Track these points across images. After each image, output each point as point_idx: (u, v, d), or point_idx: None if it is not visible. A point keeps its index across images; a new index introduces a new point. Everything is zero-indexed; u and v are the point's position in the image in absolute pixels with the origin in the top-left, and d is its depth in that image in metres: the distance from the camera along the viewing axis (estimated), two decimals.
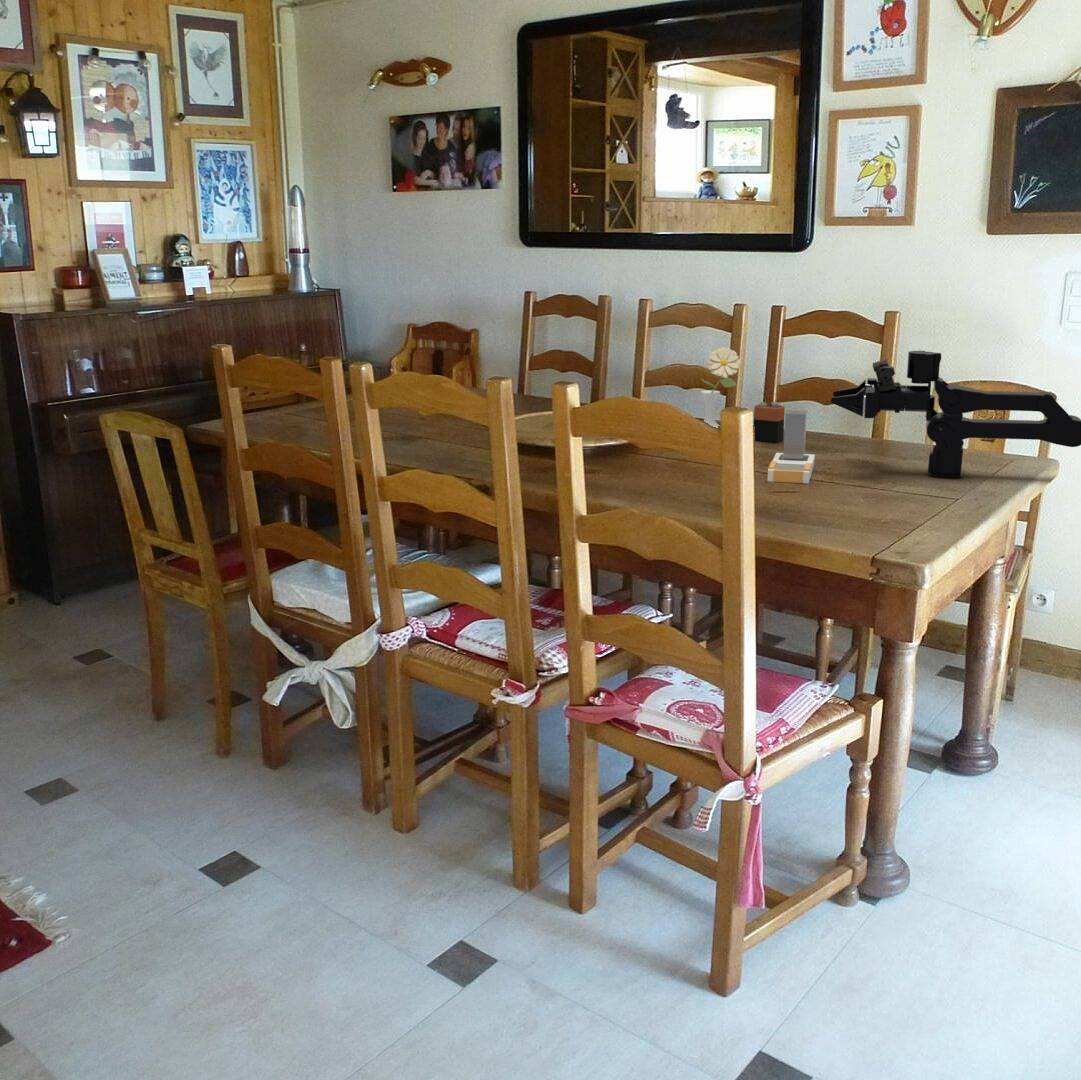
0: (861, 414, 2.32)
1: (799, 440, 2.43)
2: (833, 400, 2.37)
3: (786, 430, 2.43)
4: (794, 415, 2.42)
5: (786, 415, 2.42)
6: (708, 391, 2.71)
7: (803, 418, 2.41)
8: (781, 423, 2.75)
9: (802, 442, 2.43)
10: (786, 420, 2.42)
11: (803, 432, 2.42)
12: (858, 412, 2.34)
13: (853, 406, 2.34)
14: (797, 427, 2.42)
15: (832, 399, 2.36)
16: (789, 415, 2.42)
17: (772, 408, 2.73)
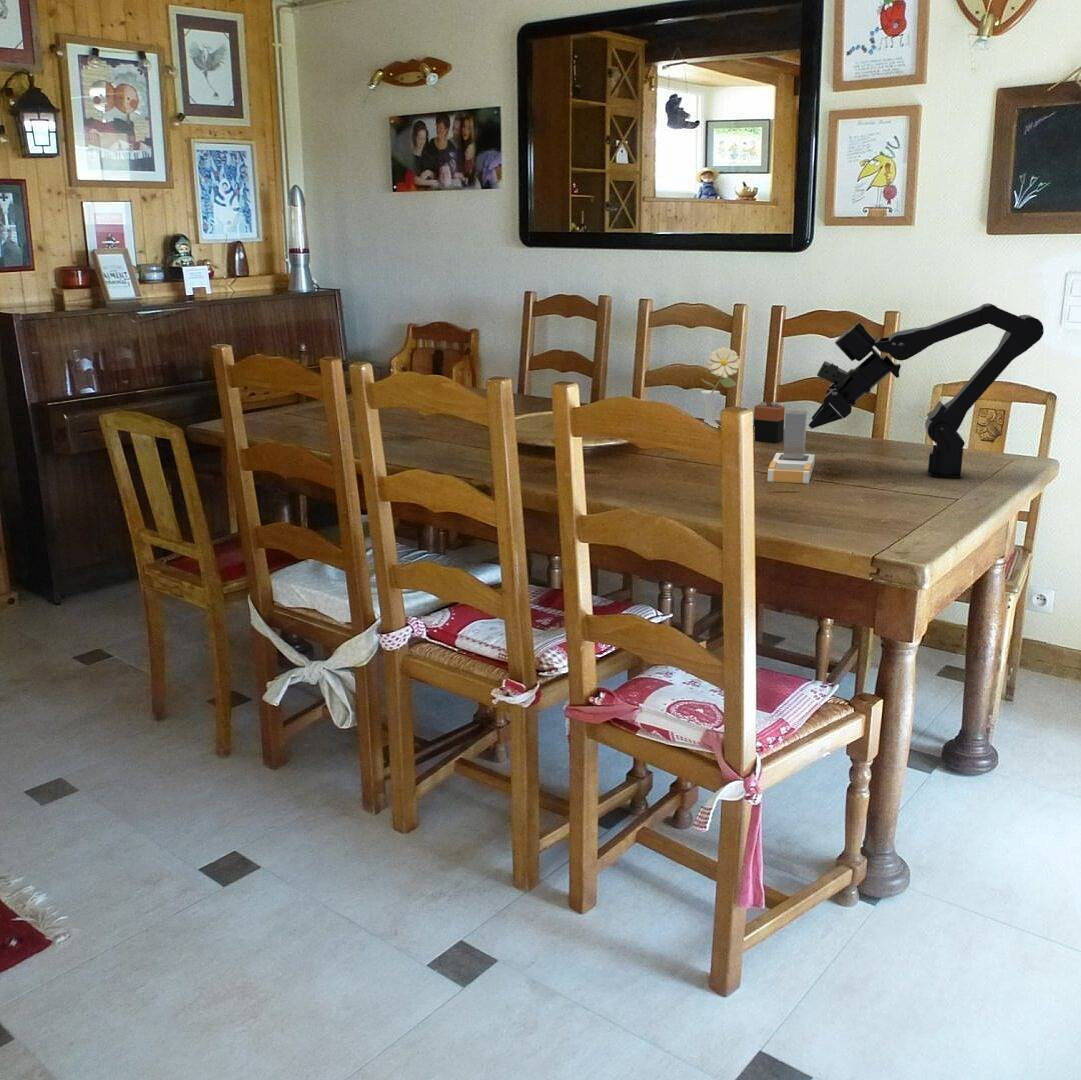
0: (840, 417, 2.33)
1: (799, 440, 2.43)
2: (811, 425, 2.39)
3: (786, 430, 2.43)
4: (794, 415, 2.42)
5: (786, 415, 2.42)
6: (708, 391, 2.71)
7: (803, 418, 2.41)
8: (781, 423, 2.75)
9: (802, 442, 2.43)
10: (786, 420, 2.42)
11: (803, 432, 2.42)
12: (837, 418, 2.35)
13: (829, 417, 2.36)
14: (798, 427, 2.42)
15: (810, 425, 2.38)
16: (789, 415, 2.42)
17: (772, 408, 2.73)
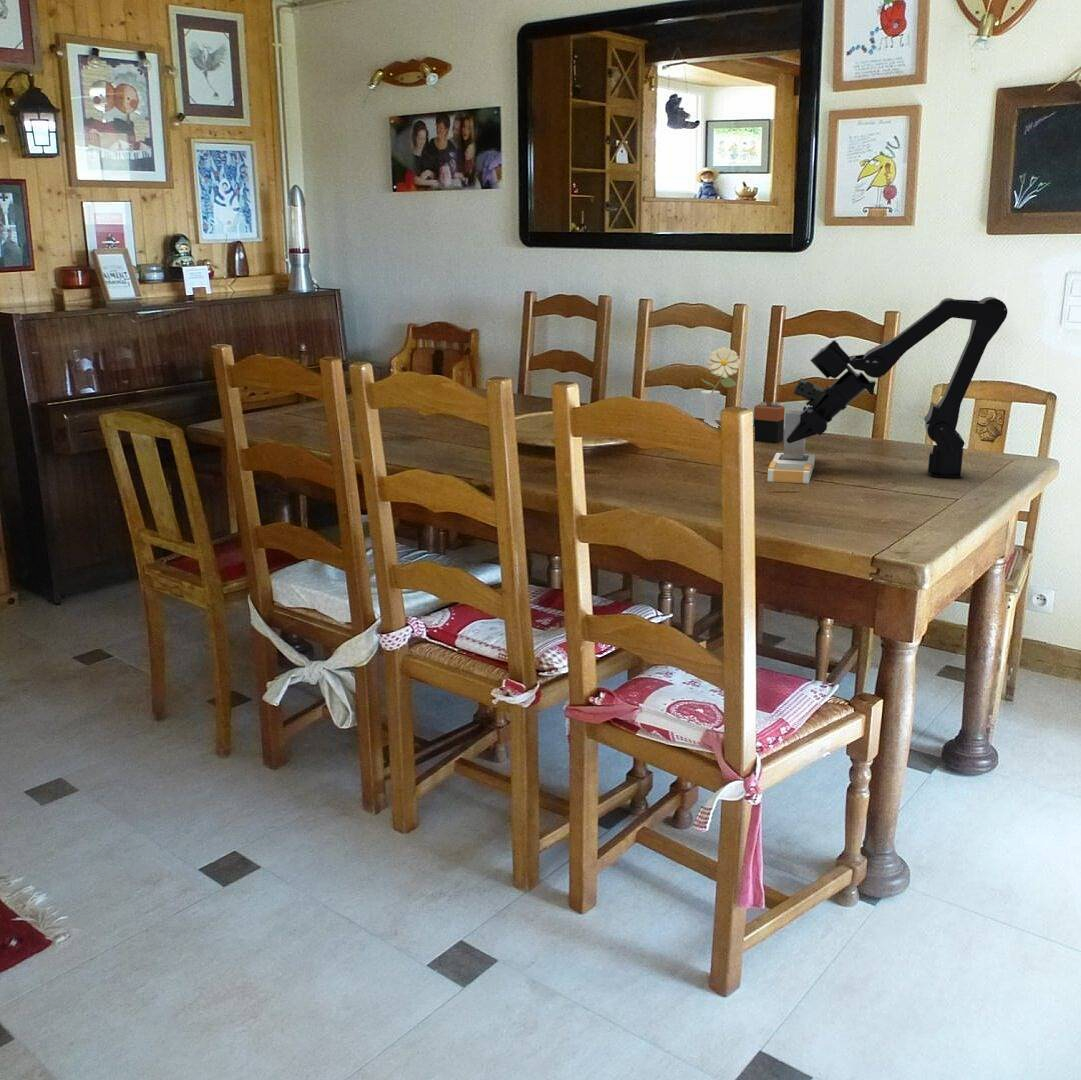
0: (816, 432, 2.38)
1: (799, 440, 2.43)
2: (789, 440, 2.43)
3: (786, 430, 2.43)
4: (794, 415, 2.42)
5: (786, 415, 2.42)
6: (708, 391, 2.71)
7: None
8: (781, 423, 2.75)
9: (802, 442, 2.43)
10: (786, 420, 2.42)
11: None
12: (814, 433, 2.39)
13: (806, 432, 2.40)
14: None
15: (787, 440, 2.43)
16: (789, 415, 2.42)
17: (772, 408, 2.73)
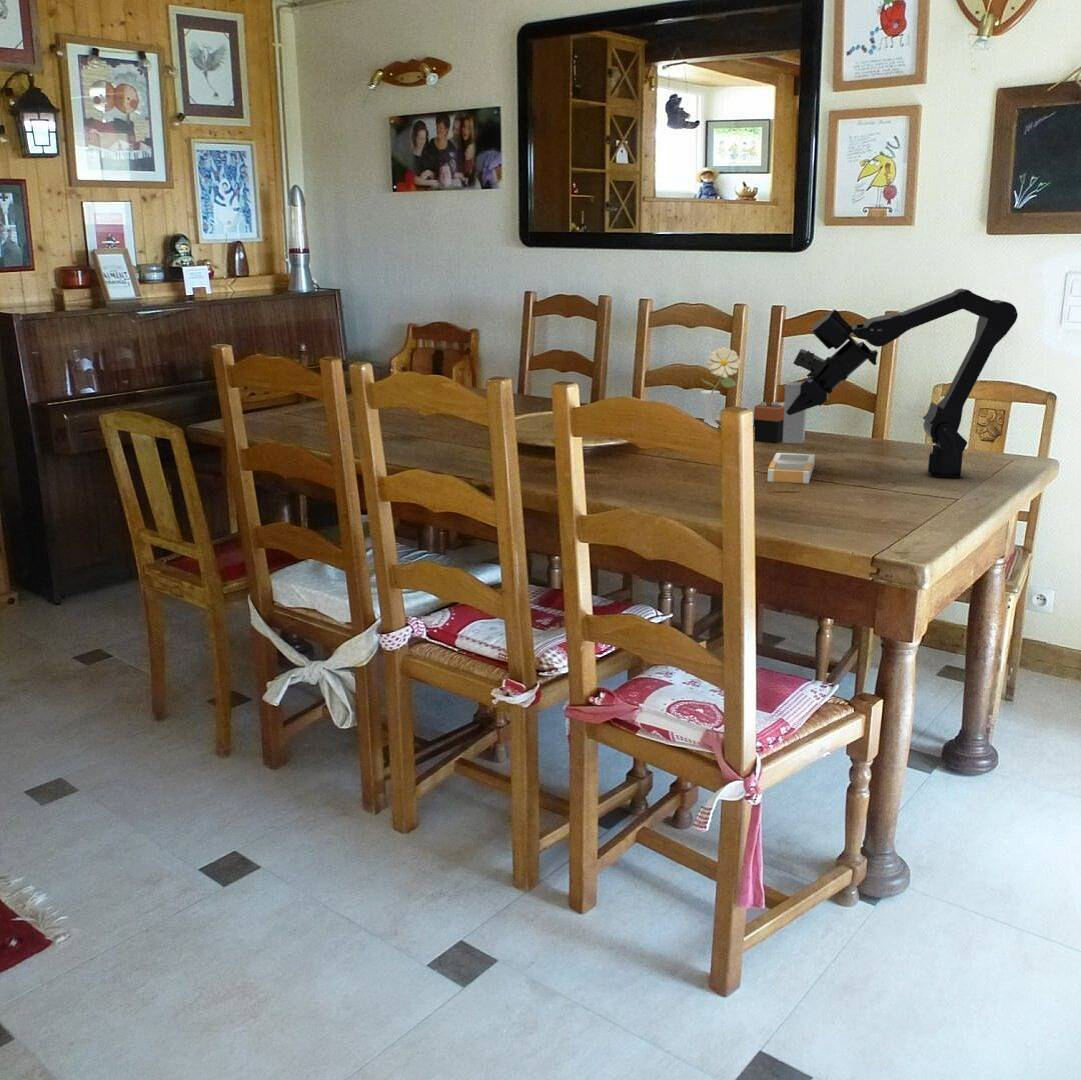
0: (816, 403, 2.33)
1: (799, 412, 2.38)
2: (789, 412, 2.38)
3: (786, 402, 2.38)
4: (794, 386, 2.37)
5: (786, 386, 2.37)
6: (708, 391, 2.71)
7: None
8: (781, 423, 2.75)
9: (802, 414, 2.38)
10: (786, 391, 2.38)
11: None
12: (814, 404, 2.34)
13: (807, 403, 2.35)
14: None
15: (787, 412, 2.38)
16: (789, 386, 2.37)
17: (772, 408, 2.73)
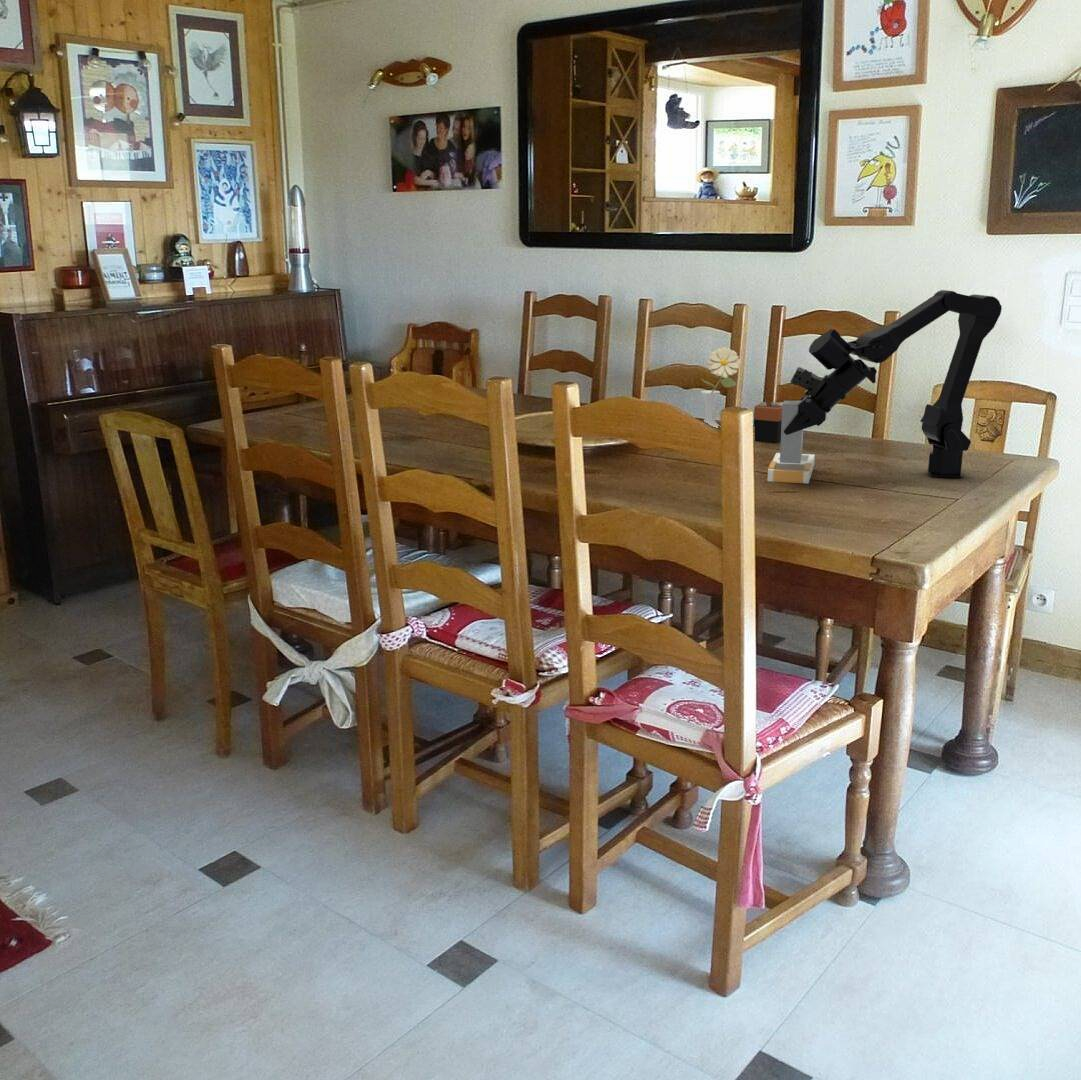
0: (815, 423, 2.27)
1: (797, 431, 2.33)
2: (786, 432, 2.33)
3: (783, 421, 2.33)
4: (791, 405, 2.31)
5: (783, 405, 2.32)
6: (708, 391, 2.71)
7: None
8: (781, 423, 2.75)
9: (800, 433, 2.32)
10: (783, 410, 2.32)
11: None
12: (812, 423, 2.29)
13: (804, 422, 2.30)
14: None
15: (785, 431, 2.33)
16: (786, 405, 2.32)
17: (772, 408, 2.73)
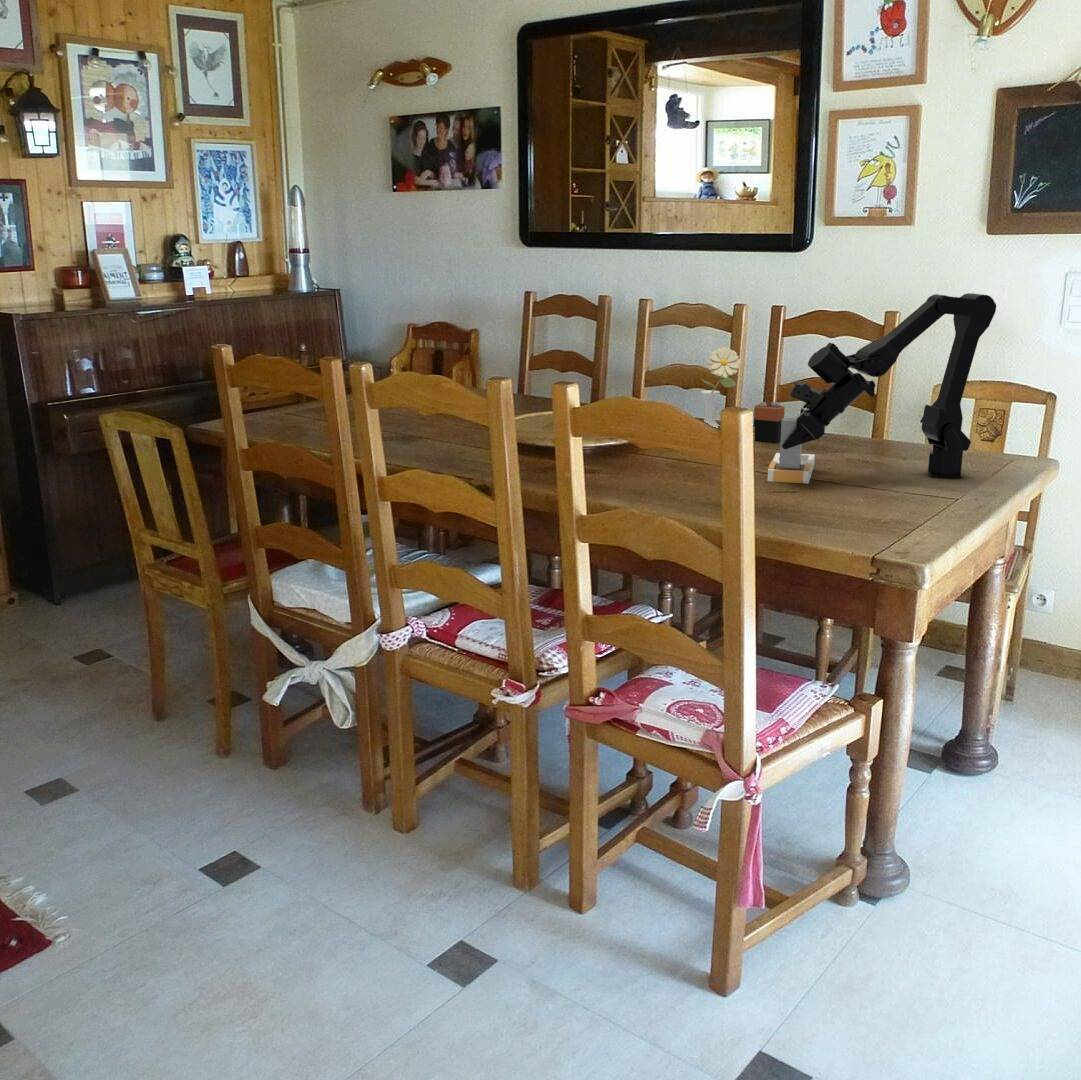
0: (813, 438, 2.27)
1: (795, 448, 2.34)
2: (784, 446, 2.32)
3: (782, 438, 2.34)
4: (790, 422, 2.33)
5: (782, 422, 2.33)
6: (708, 391, 2.71)
7: None
8: None
9: (799, 450, 2.34)
10: (782, 427, 2.34)
11: None
12: (810, 438, 2.28)
13: (803, 437, 2.29)
14: None
15: (783, 446, 2.32)
16: (785, 422, 2.33)
17: (772, 408, 2.73)
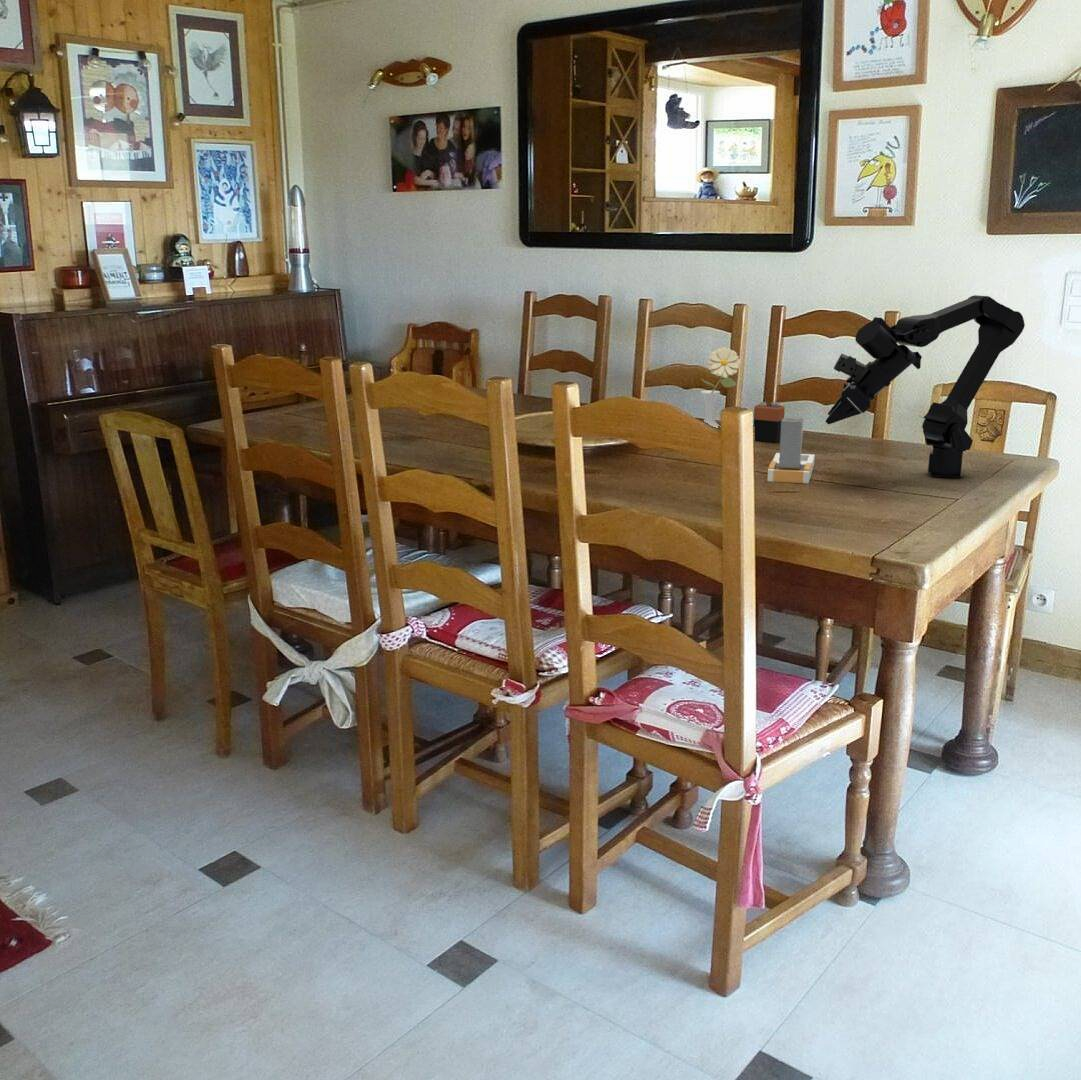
0: (858, 412, 2.22)
1: (795, 449, 2.34)
2: (828, 421, 2.27)
3: (782, 439, 2.34)
4: (790, 423, 2.33)
5: (782, 423, 2.33)
6: (708, 391, 2.71)
7: (799, 426, 2.32)
8: None
9: (798, 451, 2.34)
10: (782, 428, 2.33)
11: (799, 440, 2.33)
12: (855, 412, 2.23)
13: (847, 412, 2.25)
14: (794, 435, 2.33)
15: (827, 421, 2.27)
16: (785, 423, 2.33)
17: (772, 408, 2.73)
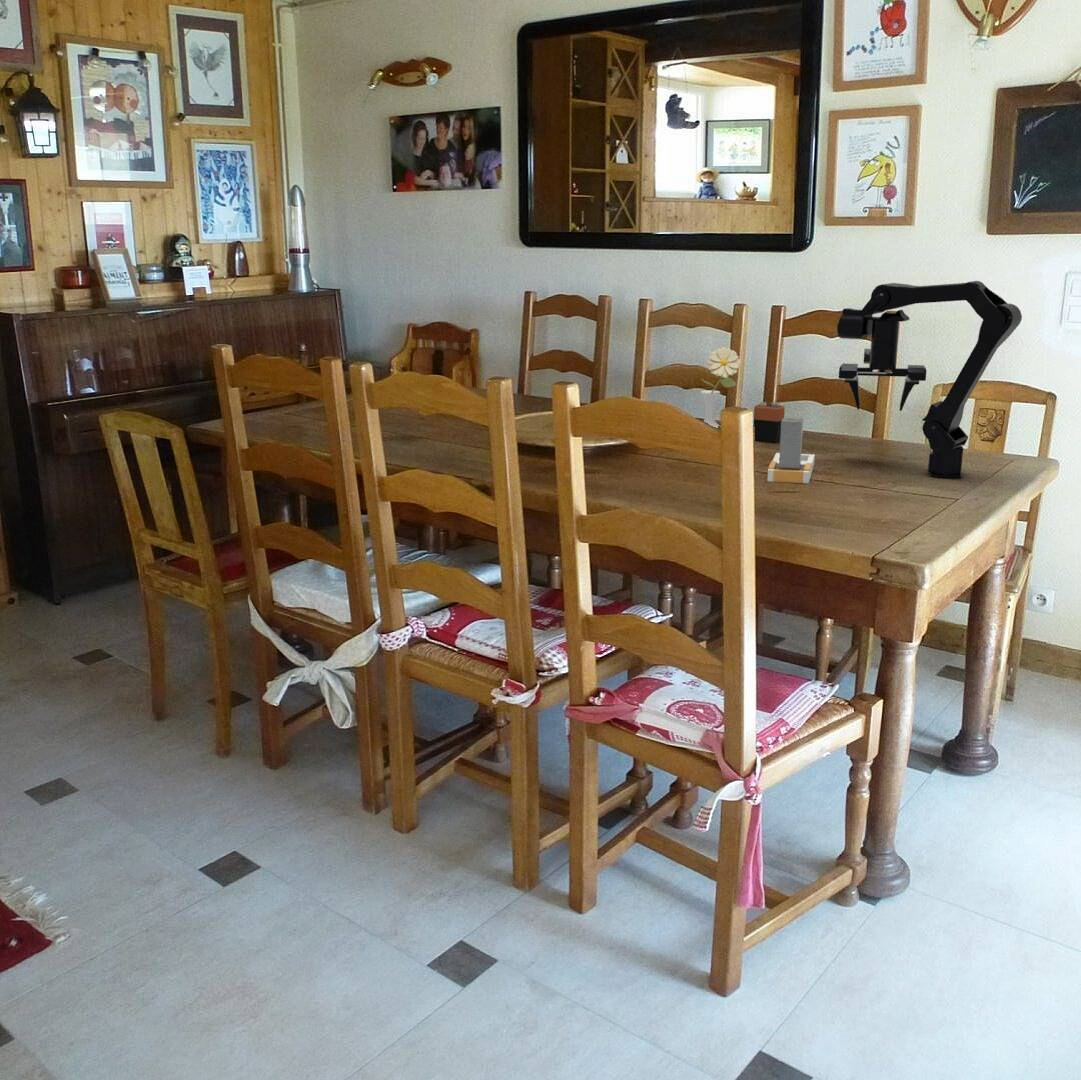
0: (844, 381, 2.43)
1: (795, 449, 2.34)
2: None
3: (782, 439, 2.34)
4: (790, 423, 2.33)
5: (782, 423, 2.33)
6: (708, 391, 2.71)
7: (799, 426, 2.32)
8: None
9: (798, 451, 2.34)
10: (782, 428, 2.33)
11: (799, 440, 2.33)
12: None
13: None
14: (794, 435, 2.33)
15: (857, 407, 2.46)
16: (785, 423, 2.33)
17: (772, 408, 2.73)
